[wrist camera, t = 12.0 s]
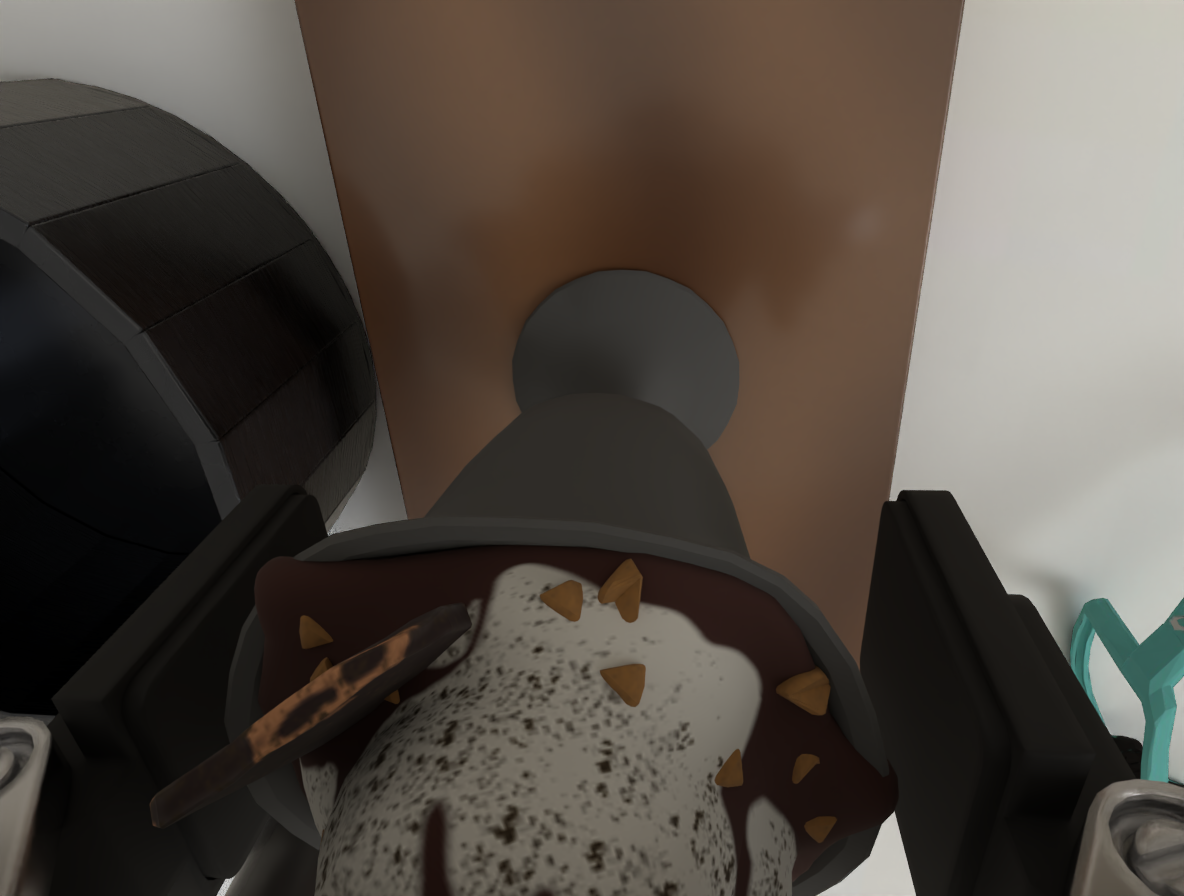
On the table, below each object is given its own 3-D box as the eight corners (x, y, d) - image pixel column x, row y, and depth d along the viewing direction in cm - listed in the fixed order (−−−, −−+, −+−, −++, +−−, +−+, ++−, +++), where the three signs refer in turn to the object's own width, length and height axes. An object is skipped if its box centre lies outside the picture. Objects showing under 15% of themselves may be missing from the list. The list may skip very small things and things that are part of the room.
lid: (232, 877, 31) (128, 1069, 25) (105, 619, 24) (-76, 801, 19) (566, 906, 29) (534, 1120, 23) (528, 635, 22) (471, 843, 17)
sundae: (772, 512, 18) (998, 1901, 5) (491, 502, 18) (-2, 1656, 5) (798, 224, 14) (1843, 2150, 1) (459, 228, 15) (-976, 1434, 2)
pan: (17, 556, 23) (-189, 717, 18) (-229, 98, 17) (-661, 130, 12) (417, 566, 22) (323, 748, 16) (307, 60, 15) (93, 77, 10)
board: (459, 657, 23) (445, 694, 22) (295, -160, 14) (253, -180, 12) (847, 672, 22) (856, 714, 20) (974, -237, 12) (1007, -269, 11)
